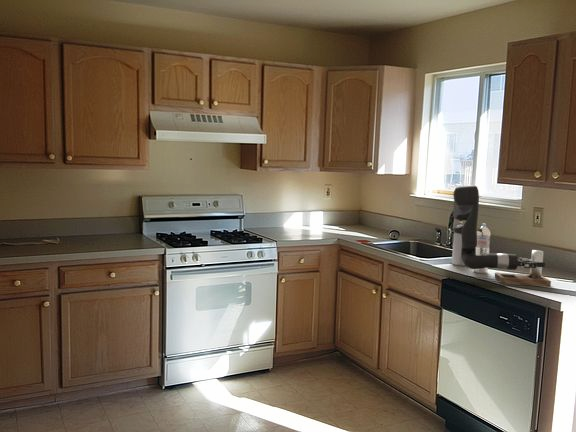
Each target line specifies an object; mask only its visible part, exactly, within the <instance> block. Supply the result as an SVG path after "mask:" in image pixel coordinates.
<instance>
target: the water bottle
mask: <svg viewBox="0 0 576 432" xmlns="http://www.w3.org/2000/svg"><path fill="white" fill-rule="evenodd" d="M481 224H482V225H481V226H480V227H479V228H477V246H476V255H484V254H486V253H490V241H491V231H490V229H489V228H488V227H487V223H481ZM488 271H489V268H481V269H473V272H474V273H477V274H487V273H488Z"/></svg>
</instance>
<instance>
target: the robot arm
mask: <svg viewBox="0 0 576 432" xmlns="http://www.w3.org/2000/svg"><path fill="white" fill-rule="evenodd" d="M479 203H480V194H479V188H478V186H477V185H462V186H460V185H459V186H456V187H455V188H454V191H453V208H452V216H453V218H454V220H457V221H465V222H464V223H463V224H460V225H457V226H455V227H454V228H453V229H454V231H453V242H452V243H453V244H452V253H451V254H452V256H451V264H452V265H455V266H461V267H462V266H463V267H466V268H468V269H470V270H471V269H472V270H474V269H481V268H488V269H497V270H511V271H515V270H517V269H518V266H519V267H520V268H524V269H530V268H536V267H542V268H545V267H546V263H545V262H544V261H543V262H532V261H531V258H529V257H518V255H517V254H516V253H493V252H492V253H491V252H489V253H486V254H484V255H476V246H477V230H478V219H479ZM532 264H534V266H532Z"/></svg>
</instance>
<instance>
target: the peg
mask: <svg viewBox="0 0 576 432" xmlns="http://www.w3.org/2000/svg"><path fill="white" fill-rule="evenodd" d="M544 252H545V251H543V250H539V249H532V250H531V257H530V259H531V261H532V262H544ZM532 266H534V264H532ZM542 272H543V267H536V268H529V275H530V277H529V278H533V279H541V275H542Z"/></svg>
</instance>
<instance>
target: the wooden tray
mask: <svg viewBox="0 0 576 432" xmlns="http://www.w3.org/2000/svg"><path fill="white" fill-rule="evenodd" d="M529 277H530V274H523V273H506V272H505V273H504V272H494V279H495V280H497V281H498V282H499V283H501V284H504V285H517V286H519V285H520V286H535V287H536V286H537V287H538V286H539V287H551V285H552V284H551V283H552V281H551V280H550V279H549V278H547V277H545V276H543V275H542V274H541V279H533V278H529Z"/></svg>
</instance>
